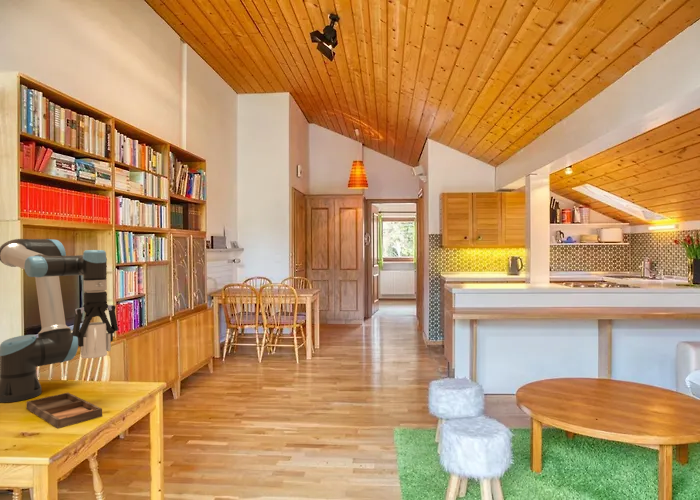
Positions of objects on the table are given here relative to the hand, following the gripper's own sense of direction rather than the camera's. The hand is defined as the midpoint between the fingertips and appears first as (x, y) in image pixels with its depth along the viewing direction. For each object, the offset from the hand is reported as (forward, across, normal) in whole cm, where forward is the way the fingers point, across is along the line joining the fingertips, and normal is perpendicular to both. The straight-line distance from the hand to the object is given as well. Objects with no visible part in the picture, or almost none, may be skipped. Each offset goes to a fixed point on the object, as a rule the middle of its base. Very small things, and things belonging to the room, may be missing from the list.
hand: (96, 352), depth 170 cm
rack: (+19, -11, +1) cm, 22 cm away
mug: (+2, -1, 0) cm, 2 cm away
